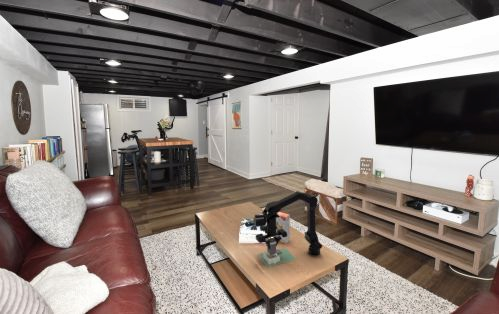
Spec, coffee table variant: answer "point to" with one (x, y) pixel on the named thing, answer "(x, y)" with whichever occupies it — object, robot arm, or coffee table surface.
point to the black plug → (272, 246)
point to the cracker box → (283, 226)
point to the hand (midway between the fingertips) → (271, 248)
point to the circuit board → (276, 257)
